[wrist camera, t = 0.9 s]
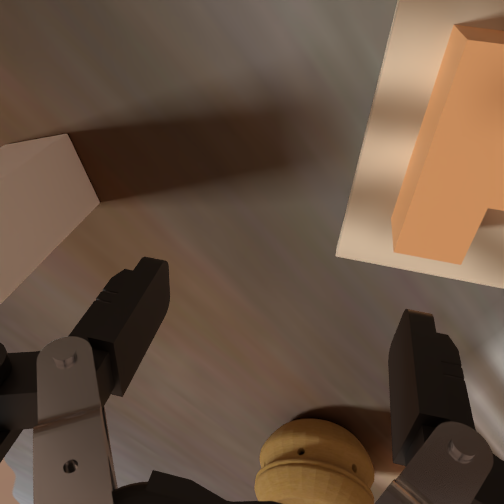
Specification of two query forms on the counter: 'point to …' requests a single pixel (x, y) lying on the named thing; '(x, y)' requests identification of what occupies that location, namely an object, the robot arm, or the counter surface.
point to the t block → (456, 152)
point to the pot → (314, 465)
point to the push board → (404, 138)
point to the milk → (38, 203)
